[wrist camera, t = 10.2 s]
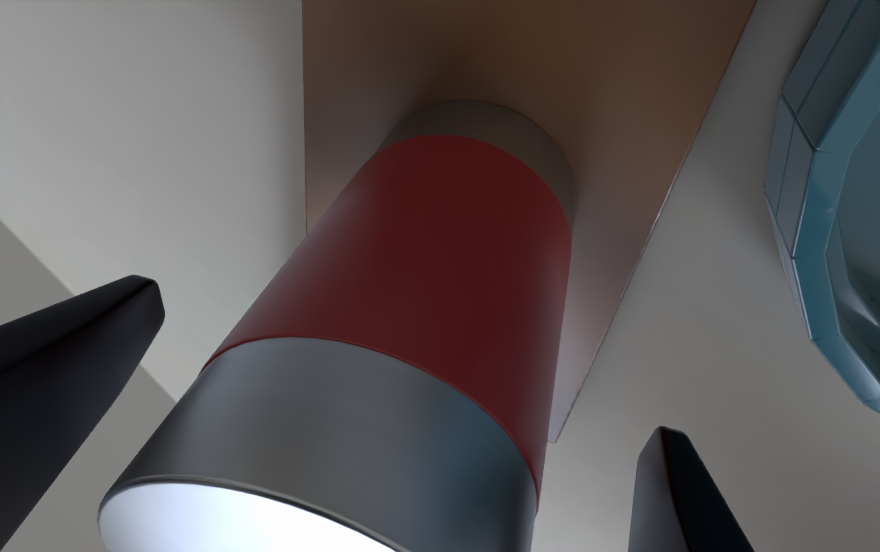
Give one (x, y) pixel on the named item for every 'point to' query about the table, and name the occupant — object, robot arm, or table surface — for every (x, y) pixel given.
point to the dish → (833, 191)
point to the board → (531, 112)
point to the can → (381, 365)
